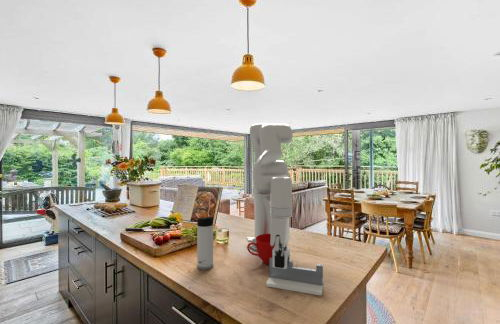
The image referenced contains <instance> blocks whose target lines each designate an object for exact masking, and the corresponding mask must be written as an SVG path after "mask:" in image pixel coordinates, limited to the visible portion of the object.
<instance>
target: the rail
mask: <svg viewBox="0 0 500 324" xmlns="http://www.w3.org/2000/svg"><path fill="white" fill-rule="evenodd" d="M269 278H276V279H282V280H289V281H295V282H301V283H308V284H314V285H320V286H323V287H324V282H323V278H324V264H319V263H316V269H313V268H306V267H299V266H294V261H293V260H291V259H290V260H288V268H287V269H282V268H275V267H273V258H270V265H269Z"/></svg>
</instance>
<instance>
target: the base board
mask: <svg viewBox="0 0 500 324" xmlns="http://www.w3.org/2000/svg"><path fill="white" fill-rule="evenodd" d="M323 283H324V277H323ZM265 287H268V288H274V289H281V290H286V291H292V292H297V293H298V292H299V293H303V294H304V293H305V294H309V295H316V296H322V295H323V289H324V285H323V286H320V285H314V284H308V283H301V282H295V281H289V280H282V279H276V278H270V277H268V279H267V281H266V282H265Z"/></svg>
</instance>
